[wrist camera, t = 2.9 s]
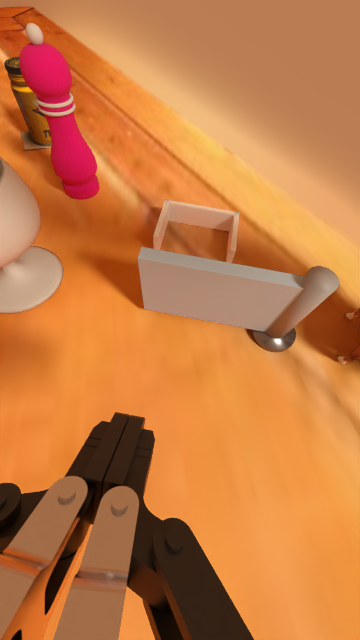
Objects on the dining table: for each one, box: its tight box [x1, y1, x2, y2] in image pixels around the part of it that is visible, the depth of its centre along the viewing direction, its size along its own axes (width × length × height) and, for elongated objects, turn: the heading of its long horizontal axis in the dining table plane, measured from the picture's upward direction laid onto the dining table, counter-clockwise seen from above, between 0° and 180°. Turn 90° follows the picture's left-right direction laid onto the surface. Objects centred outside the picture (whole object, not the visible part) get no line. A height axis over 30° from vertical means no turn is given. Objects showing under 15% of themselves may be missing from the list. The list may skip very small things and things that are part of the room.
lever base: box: [251, 328, 296, 352], centre depth 33 cm, size 6×6×1 cm
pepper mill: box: [19, 23, 99, 199], centre depth 36 cm, size 7×7×20 cm
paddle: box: [138, 247, 339, 339], centre depth 28 cm, size 20×3×11 cm, turn 80°
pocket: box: [153, 199, 239, 263], centre depth 39 cm, size 13×9×4 cm
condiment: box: [5, 57, 51, 150], centre depth 47 cm, size 7×8×12 cm
